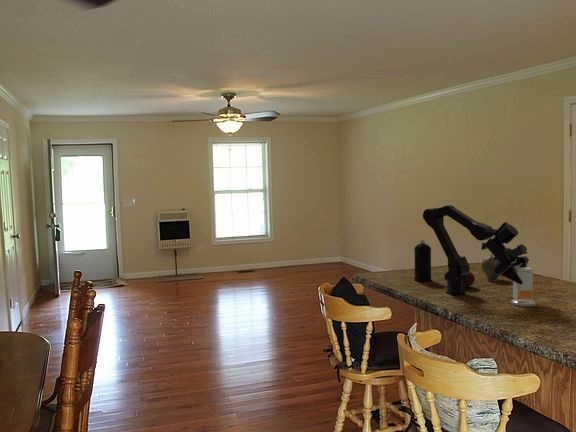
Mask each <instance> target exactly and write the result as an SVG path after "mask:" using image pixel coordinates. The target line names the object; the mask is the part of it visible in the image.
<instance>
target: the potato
mask: <svg viewBox="0 0 576 432" xmlns="http://www.w3.org/2000/svg"><path fill="white" fill-rule="evenodd" d="M475 280H476V277H475V275H474V274H473V272H472V271H470V270H469V273H468V274H467V275H466V278H465V279H464V283H465V288H467V287H470V286H473V284H474V283H475Z"/></svg>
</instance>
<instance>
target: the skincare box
mask: <svg viewBox="0 0 576 432" xmlns="http://www.w3.org/2000/svg"><path fill="white" fill-rule="evenodd" d="M515 272H516V273H517V274H518V276H519V277H520V279H521V280H522V282H523V283H522V284H518V283H516V282H514V281H513V283H512V285H513V286H512V287H513V288H512V298H513V299H516V300H533V288H534V287H533V286H534V285H533V283H534V269H532V268H531V267H527V268H515Z"/></svg>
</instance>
